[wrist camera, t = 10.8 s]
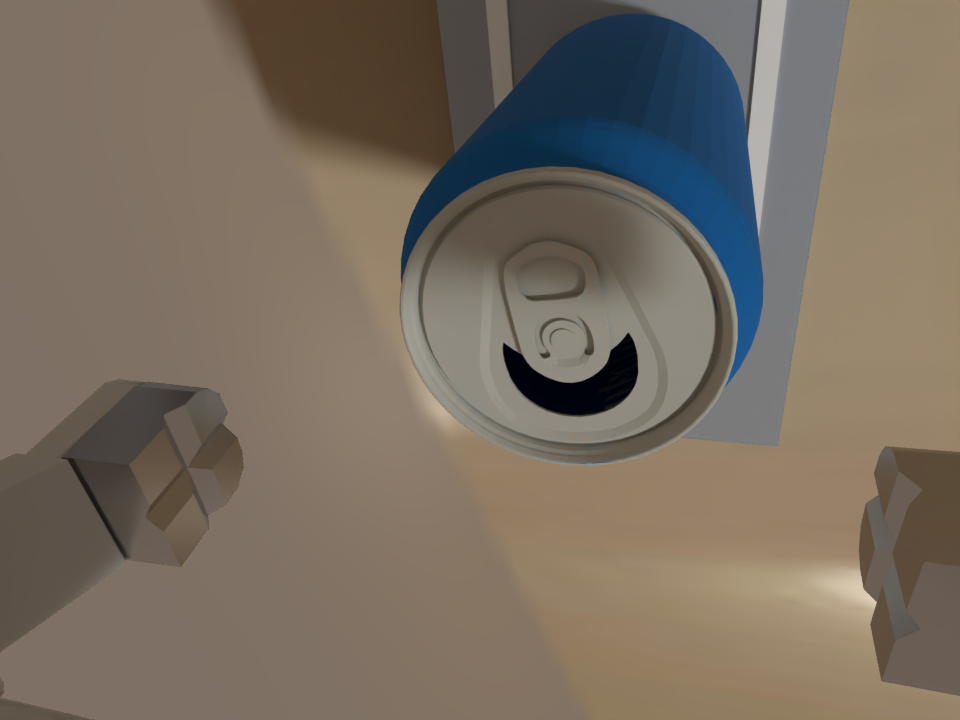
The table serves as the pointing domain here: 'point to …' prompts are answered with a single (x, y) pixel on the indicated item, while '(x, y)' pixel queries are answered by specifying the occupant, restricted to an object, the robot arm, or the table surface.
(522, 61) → the picture board
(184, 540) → the robot arm
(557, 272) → the beverage can
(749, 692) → the table surface
